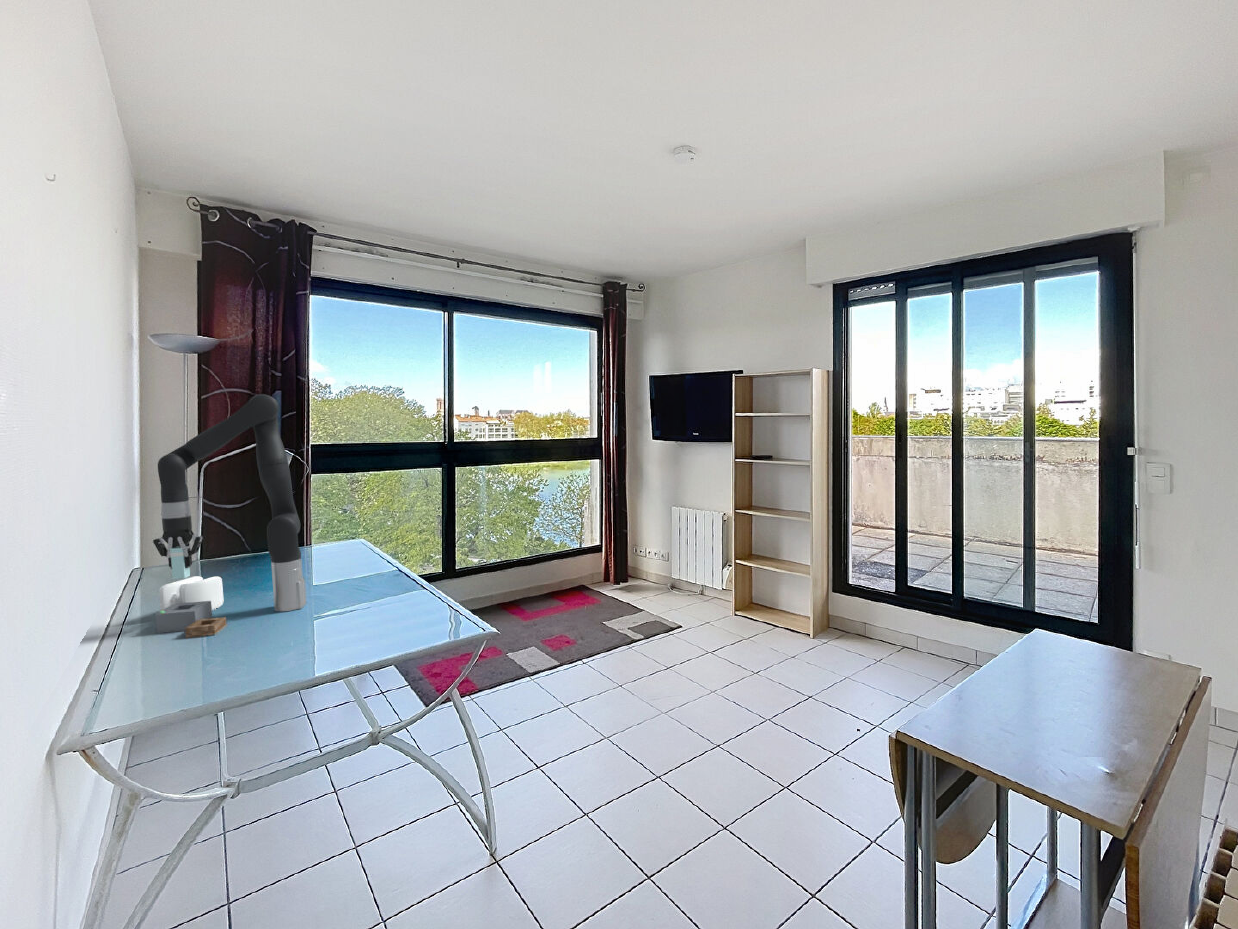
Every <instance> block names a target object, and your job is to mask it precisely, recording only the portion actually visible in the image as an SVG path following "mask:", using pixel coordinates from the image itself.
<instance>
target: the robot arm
mask: <svg viewBox="0 0 1238 929" xmlns="http://www.w3.org/2000/svg"><path fill="white" fill-rule="evenodd" d="M279 408H280V406H279V404H278V402H277V400H276V399H275V398H274V397H273V396H270V395H268V394H265V393H263V394H262V393H261V394H260V393H259V394H256V395H254V396H252V397H251V398H250V399H249V400H248V402H246V403H245V404H244V405H243V406H242V407H241V408H240V409H239V410H237V411H235V413H233V414H232V415H230V416H229V417H226V418H225V419H224V420H222V421H220V422H219V423H216V424H215V425H212V426H211V427H210V428H209V427H208V428H207V429H205V430H204V431H202V432H200V433H199V434H197V435H196V436H194V437H193V438H191V439H189V440H188V441H187V442H186V443H185V444H184V445H182V446H180V447H178V448H176V449H174V450H172V451H170V452H169V453H167V454H165V455H163V456H161V458H159V459H158V462H157V472H158V478H159V485H160V499H161V500H160V501H161V507H160V508H161V509H160V511H161V513H160V516H161V524H162V531H163V533H162V535H161V537H158V538H154V539H153V540H152V543H153V544H154V546H155V548H156V550H157V552H158V553H159V555H160V557H167V561H168V567H169V568H170V570H172V563H171V554H170V553H171V551H170V549H172V548H173V547H177V546H178V547H181V548H182V549H183V551H184V556H185V557H184V562H185V568H189V567H190V568H191V566H192V565H193V558H192V556H193V555H194V554H197V553H198V552H199V550H200V547H201V545H202V542H203V540H204V535H197V534H195V533H194V532H193V525H192V524H193V522H192V511H191V504H190V498H189V497H190V496H189V488H188V485H187V477H186V476H187V475H186V470H187V469H189V468H190V467H192V466H193V465H195V464H196V463H197V462H199V461H201V460H203V459H206V458H207V457H208V456H211V455H212V454H214V453H215V452H217V451H218V450H220V449H221V448H223V447H225V445H228V443H230V442H231V441H232V440H233V439H235V438H237V437H238V436H239V435H241V434H242V433H243V432H245V431H247V430H249V429H251V428H252V429H253V431H254V436H255V454H256V465H257V468H258V474H259V478H260V482H261V485H262V487H263V489H264V491H265V494H266V495H267V497H268V499H269V503H270V509H271V518H272V519H271V520H270V521H269V523H268V524H267V527H266V540H267V547H268V548H267V549H268V554H269V557H270V561H271V562H270V563H271V564H270V566H271V577H272V591H273V593H272V594H273V602H274V604H273V605H274V611H276V612H288V611H289V612H290V611H294V610H301V609H302V608H303V607H304V606H306V604H307V593H306V592H307V591H306V578H305V577H303V567H302V566H303V565H302V564H303V563H302V551H301V549H300V548H299V547H300V546H299V538H298V534H299V533H300V530H301V520H300V517H299V514H298V510H297V509H296V505H295V504H296V503H295V501H294V495H293V485H292V478H291V471H290V465H289V460H288V459H289V458H288V455H287V453H286V449H285V446H284V443H283V441H282V438H281V435H280V429H279V427H280V426H279V419H278V418H279V417H278V416H279V415H278V414H279ZM191 540H192V542H193V544H192V545H191V543H190V542H191ZM165 543H166V544H167V546H166V545H165Z"/></svg>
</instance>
